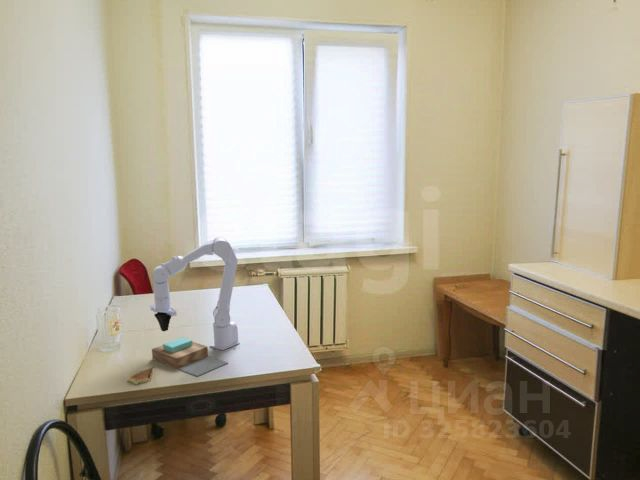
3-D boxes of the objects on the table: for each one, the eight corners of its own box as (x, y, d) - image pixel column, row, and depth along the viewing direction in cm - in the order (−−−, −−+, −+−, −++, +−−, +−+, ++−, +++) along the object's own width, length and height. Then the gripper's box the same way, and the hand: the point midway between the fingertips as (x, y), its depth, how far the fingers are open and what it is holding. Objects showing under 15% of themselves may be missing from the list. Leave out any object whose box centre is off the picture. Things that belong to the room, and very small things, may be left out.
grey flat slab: (209, 356, 192) (208, 355, 192) (227, 363, 185) (227, 362, 185) (178, 369, 182) (178, 368, 182) (197, 376, 175) (197, 375, 175)
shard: (153, 370, 182) (153, 365, 182) (166, 375, 178) (166, 370, 177) (126, 381, 174) (126, 376, 174) (139, 386, 169) (138, 381, 169)
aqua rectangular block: (183, 342, 198) (182, 337, 197) (192, 345, 194) (192, 340, 193) (163, 349, 191) (163, 344, 190) (172, 352, 187) (172, 347, 187)
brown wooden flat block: (183, 347, 203) (182, 338, 202) (208, 356, 193) (207, 346, 192) (152, 358, 192) (151, 349, 191) (177, 368, 182) (176, 358, 181)
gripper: (142, 296, 196) (145, 329, 198) (164, 302, 187) (166, 337, 189) (158, 292, 201) (160, 324, 203) (180, 298, 192) (182, 331, 194)
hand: (164, 330), depth 196 cm, fingers closed
